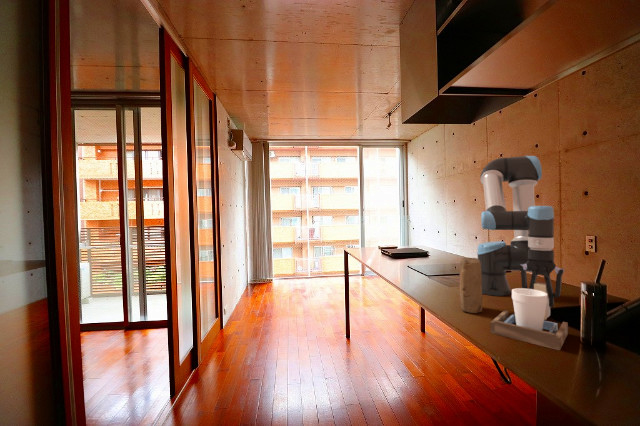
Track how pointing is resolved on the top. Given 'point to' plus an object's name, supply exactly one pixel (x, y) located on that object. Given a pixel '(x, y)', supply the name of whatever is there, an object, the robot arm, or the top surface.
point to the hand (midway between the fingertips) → (540, 313)
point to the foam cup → (529, 307)
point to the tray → (546, 325)
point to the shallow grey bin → (528, 332)
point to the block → (470, 285)
